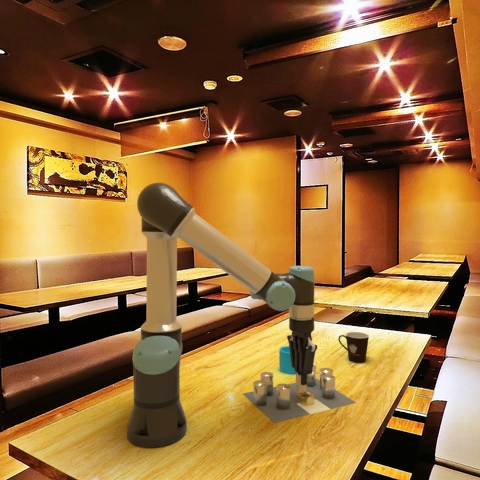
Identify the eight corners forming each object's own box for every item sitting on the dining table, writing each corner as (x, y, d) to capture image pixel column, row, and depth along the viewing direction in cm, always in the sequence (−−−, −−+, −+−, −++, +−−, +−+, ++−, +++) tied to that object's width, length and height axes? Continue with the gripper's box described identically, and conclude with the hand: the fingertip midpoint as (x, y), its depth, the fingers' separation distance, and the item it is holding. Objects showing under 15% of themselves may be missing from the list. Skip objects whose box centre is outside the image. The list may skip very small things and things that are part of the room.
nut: (303, 406, 114) (303, 400, 114) (294, 400, 118) (294, 394, 118) (317, 403, 116) (317, 396, 116) (308, 397, 120) (308, 390, 120)
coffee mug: (373, 362, 152) (373, 336, 151) (355, 365, 148) (355, 339, 148) (354, 353, 162) (354, 329, 162) (336, 355, 159) (336, 331, 159)
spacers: (265, 414, 109) (265, 393, 109) (243, 394, 122) (243, 375, 122) (345, 395, 121) (345, 376, 121) (318, 379, 134) (318, 362, 133)
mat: (274, 425, 105) (274, 422, 105) (242, 395, 123) (242, 393, 123) (356, 404, 116) (356, 402, 116) (316, 380, 135) (316, 378, 135)
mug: (290, 378, 137) (290, 354, 136) (274, 371, 143) (274, 349, 143) (313, 369, 144) (313, 347, 144) (297, 363, 151) (297, 342, 150)
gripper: (325, 320, 114) (324, 400, 115) (300, 311, 126) (299, 383, 127) (303, 323, 111) (303, 405, 112) (279, 314, 123) (279, 388, 124)
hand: (301, 393), depth 120 cm, fingers closed
